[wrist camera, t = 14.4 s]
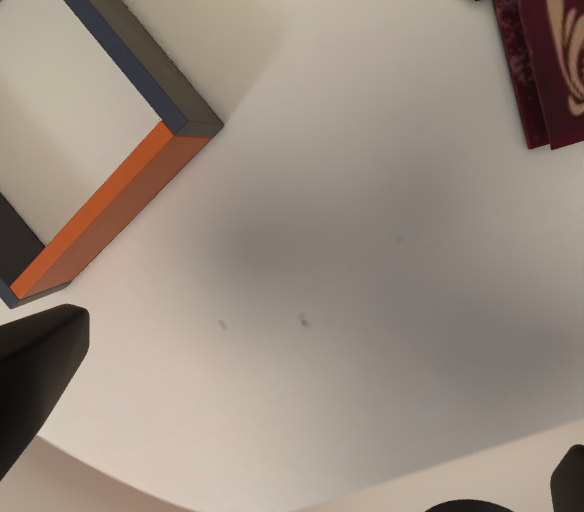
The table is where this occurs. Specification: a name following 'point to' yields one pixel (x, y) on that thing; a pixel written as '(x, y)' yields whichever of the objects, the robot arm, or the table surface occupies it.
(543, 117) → the book
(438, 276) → the table surface
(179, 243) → the table surface
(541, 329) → the table surface
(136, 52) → the square frame
